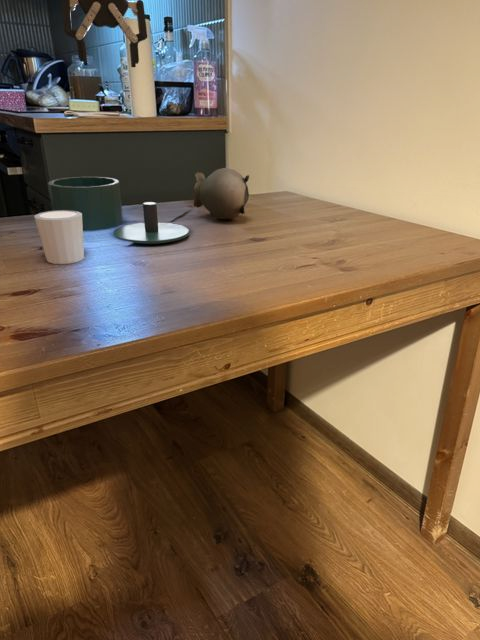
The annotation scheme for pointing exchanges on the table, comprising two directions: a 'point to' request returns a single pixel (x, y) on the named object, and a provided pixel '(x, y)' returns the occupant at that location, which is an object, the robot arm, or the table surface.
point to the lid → (151, 229)
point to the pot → (89, 200)
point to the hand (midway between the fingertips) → (109, 66)
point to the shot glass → (61, 236)
